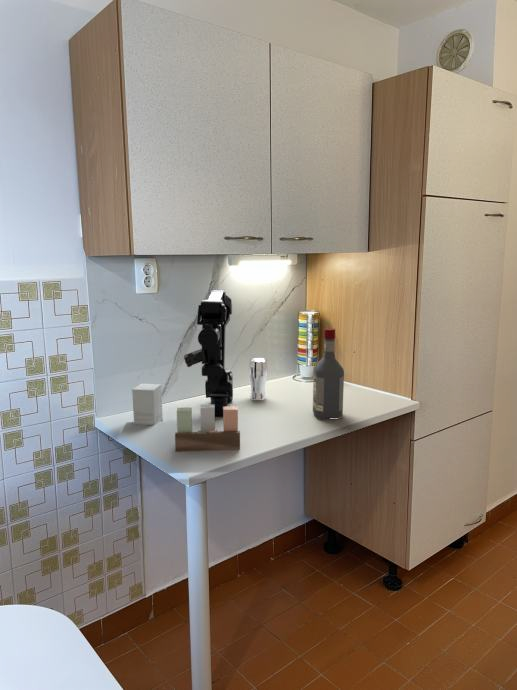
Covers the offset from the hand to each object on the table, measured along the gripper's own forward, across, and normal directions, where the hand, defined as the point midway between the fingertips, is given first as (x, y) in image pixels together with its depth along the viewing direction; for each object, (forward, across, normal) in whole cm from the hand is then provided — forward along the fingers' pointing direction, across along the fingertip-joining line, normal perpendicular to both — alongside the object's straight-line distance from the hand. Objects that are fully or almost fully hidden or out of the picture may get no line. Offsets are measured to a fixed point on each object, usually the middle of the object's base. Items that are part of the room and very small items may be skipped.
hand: (212, 391), depth 166 cm
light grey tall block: (+12, +12, -2) cm, 17 cm away
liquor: (+13, -13, +39) cm, 43 cm away
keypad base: (+13, +14, -2) cm, 19 cm away
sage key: (+12, +14, -8) cm, 20 cm away
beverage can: (+13, -32, +4) cm, 35 cm away
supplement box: (+13, -9, -21) cm, 26 cm away
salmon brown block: (+12, +14, +5) cm, 19 cm away
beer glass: (+13, -35, +17) cm, 41 cm away
